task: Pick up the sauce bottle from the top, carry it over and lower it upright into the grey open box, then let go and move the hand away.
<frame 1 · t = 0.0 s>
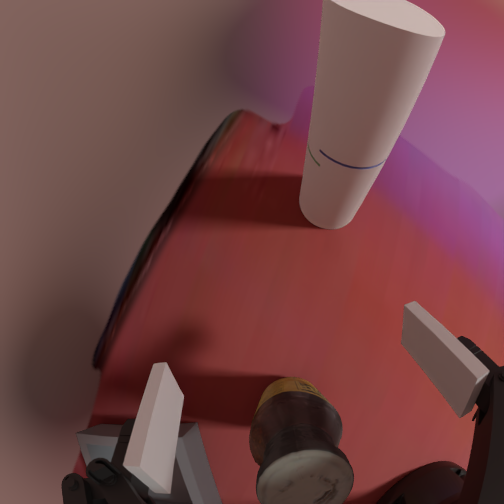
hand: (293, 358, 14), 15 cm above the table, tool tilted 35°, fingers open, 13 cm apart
sauce bottle: (288, 400, 27), on the table
grey open box: (157, 468, 24), on the table
cylindrical container: (327, 202, 33), on the table
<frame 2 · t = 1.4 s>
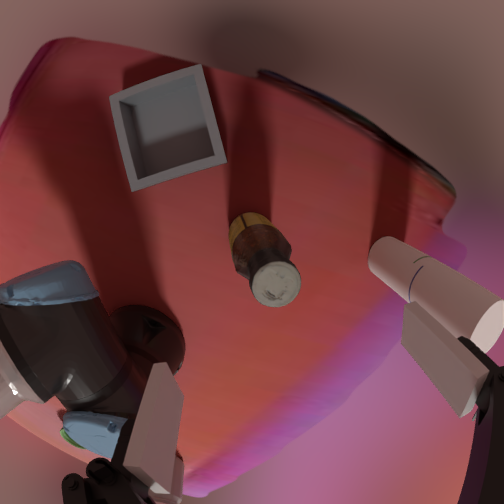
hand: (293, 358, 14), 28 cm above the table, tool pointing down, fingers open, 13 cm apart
jar: (166, 458, 57), on the table
ramekin: (79, 428, 53), on the table
sauce bottle: (251, 230, 41), on the table
grey open box: (172, 130, 35), on the table
cylindrical container: (385, 256, 44), on the table
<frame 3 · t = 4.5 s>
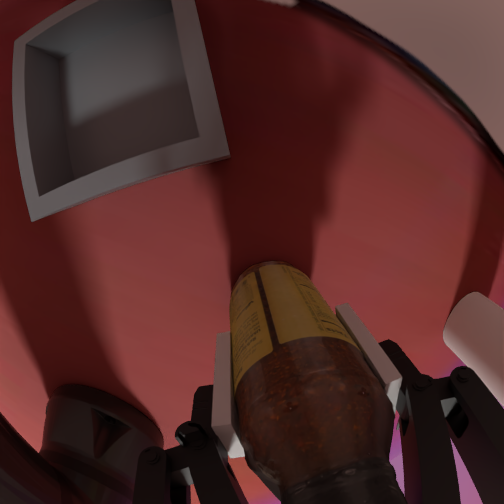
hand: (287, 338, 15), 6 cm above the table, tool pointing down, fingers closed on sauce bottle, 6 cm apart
sauce bottle: (272, 292, 21), on the table, touching gripper
grey open box: (125, 94, 16), on the table
cylindrical container: (464, 319, 24), on the table
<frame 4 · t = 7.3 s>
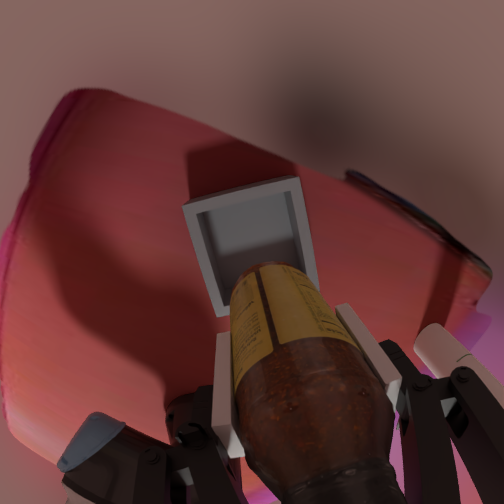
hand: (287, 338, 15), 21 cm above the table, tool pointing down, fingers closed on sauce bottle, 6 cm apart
sauce bottle: (273, 293, 21), point 15 cm above the table, touching gripper
grey open box: (251, 238, 35), on the table
cylindrical container: (427, 338, 44), on the table
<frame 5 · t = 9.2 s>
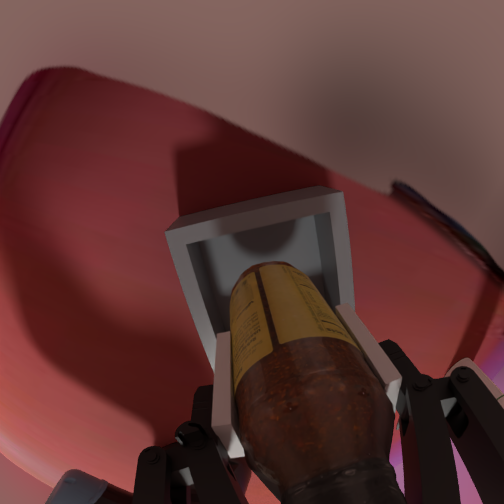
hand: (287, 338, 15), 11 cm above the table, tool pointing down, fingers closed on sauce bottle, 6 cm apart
sauce bottle: (273, 292, 21), point 5 cm above the table, touching gripper
grey open box: (265, 272, 26), on the table
cylindrical container: (455, 374, 34), on the table
when the fingers open (8 cm above the table, at t = 10.5 s): sauce bottle drops 2 cm, resting on grey open box.
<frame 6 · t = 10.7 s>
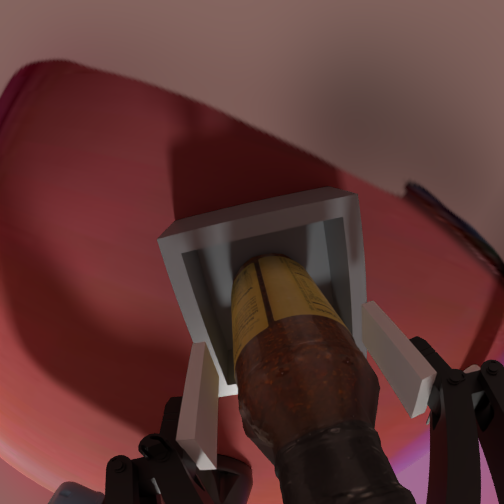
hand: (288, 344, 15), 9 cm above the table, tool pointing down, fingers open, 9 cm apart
sauce bottle: (271, 283, 23), point 1 cm above the table, touching grey open box
grey open box: (269, 280, 23), on the table
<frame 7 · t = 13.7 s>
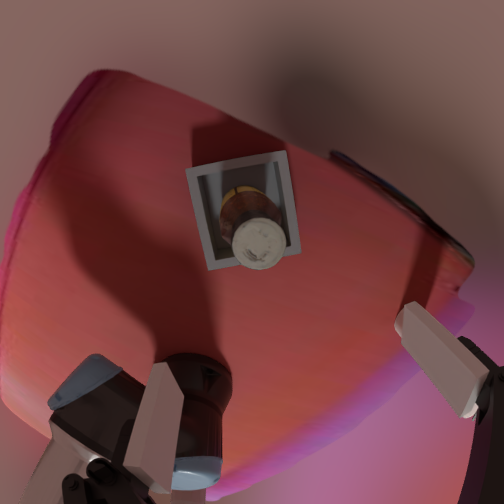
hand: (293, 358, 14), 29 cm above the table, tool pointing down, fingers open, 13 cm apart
jar: (190, 469, 63), on the table
sauce bottle: (244, 205, 39), point 1 cm above the table, touching grey open box
grey open box: (244, 205, 40), on the table
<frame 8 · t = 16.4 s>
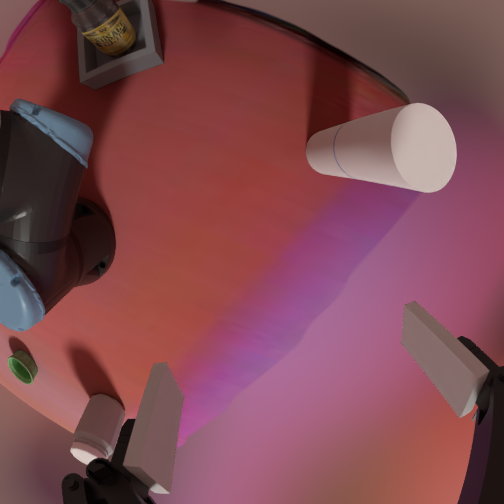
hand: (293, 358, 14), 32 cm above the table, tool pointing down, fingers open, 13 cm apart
jar: (108, 404, 55), on the table
ramekin: (27, 361, 51), on the table
sauce bottle: (123, 43, 32), point 1 cm above the table, touching grey open box
grey open box: (123, 44, 33), on the table
cylindrical container: (327, 152, 41), on the table
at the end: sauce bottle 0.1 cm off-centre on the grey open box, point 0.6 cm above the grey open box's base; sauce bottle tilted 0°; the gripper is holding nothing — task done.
